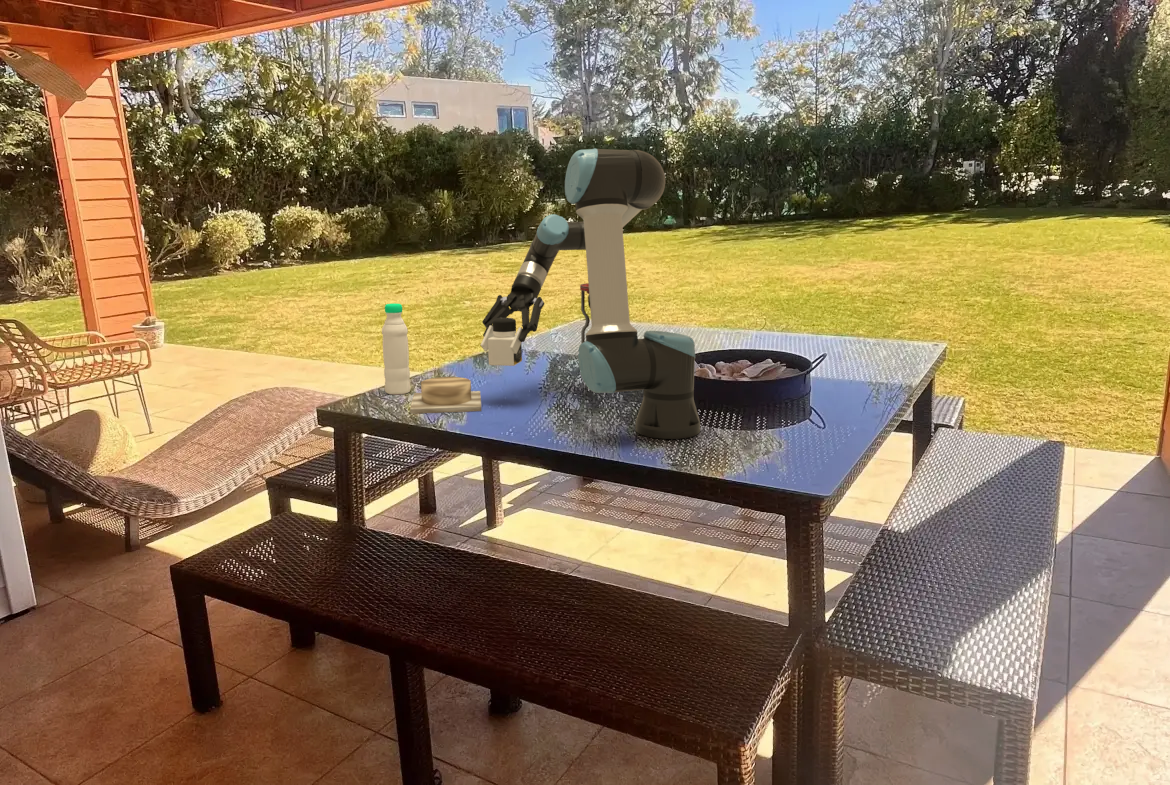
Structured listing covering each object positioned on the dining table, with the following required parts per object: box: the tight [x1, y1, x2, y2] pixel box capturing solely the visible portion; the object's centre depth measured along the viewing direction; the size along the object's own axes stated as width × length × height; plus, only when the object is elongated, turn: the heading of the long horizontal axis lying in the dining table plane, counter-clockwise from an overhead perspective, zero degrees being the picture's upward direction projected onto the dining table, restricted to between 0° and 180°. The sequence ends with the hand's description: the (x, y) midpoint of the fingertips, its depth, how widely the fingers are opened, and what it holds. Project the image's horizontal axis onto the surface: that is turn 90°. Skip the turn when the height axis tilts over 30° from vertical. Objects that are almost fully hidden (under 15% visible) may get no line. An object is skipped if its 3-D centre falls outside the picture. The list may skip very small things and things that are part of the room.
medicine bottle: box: [487, 317, 523, 367], centre depth 217 cm, size 7×7×12 cm
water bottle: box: [381, 302, 412, 396], centre depth 231 cm, size 7×7×25 cm
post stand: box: [409, 376, 482, 415], centre depth 219 cm, size 18×18×6 cm
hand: (498, 349), depth 215 cm, fingers closed on medicine bottle, 8 cm apart
